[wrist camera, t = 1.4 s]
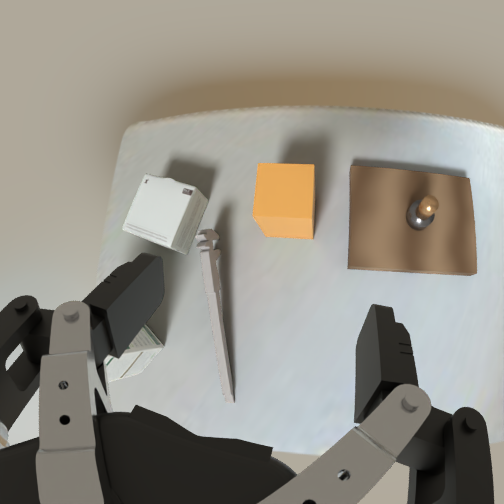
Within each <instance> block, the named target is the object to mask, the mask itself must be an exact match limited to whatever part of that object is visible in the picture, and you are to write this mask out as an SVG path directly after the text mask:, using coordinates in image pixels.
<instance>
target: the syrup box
mask: <svg viewBox="0 0 504 504" xmlns="http://www.w3.org/2000/svg"><path fill="white" fill-rule="evenodd" d="M163 347H164V345H163V344H162V343H161V342H160V341H159V340H158V338H157V337H156V336H155V335H154V333H153V332H152V331H151V330H150V329H149V328H148V326H147V325H146V324H145V325H144V326H143V327H142V329H141V330H140V331H139V333H138V334H137V335H136V337H135V338H134V339H133V341H132V342H131V343H130V345H129V346H128V347H127V349H126V350H125V351H124V353H123V354H122V356H121V357H120V358H119V359H118V358H115V357H113V356H110V355H108V356H107V357H106V358H105V363H106V371H107V379H108V382H111V381H115V380H119V379H122V378H126V377H130V376H133V375H137V374H140V373H141V372H142V371H143V370H144V369H145V367H146V366H147V365H148V364H149V363H150V362H151V361H152V360H153V358H154V357H155V356H156V355H157V354H158V353H159V352H160V351H161V349H162V348H163Z"/></svg>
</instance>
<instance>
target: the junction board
mask: <svg viewBox="0 0 504 504" xmlns="http://www.w3.org/2000/svg"><path fill="white" fill-rule="evenodd" d="M427 195H432V196H434V197H436V198H437V200H438V202H439V207H438V209H437V210H436V211H435V212H434V213H435V217H434V220H433V222H432V223H431V224H430V225H429V226H427V227H426V228H425V229H424V230H421V231H416V230H414V229H412V228H411V227H410V226H409V225H408V224H407V221H406V212H407V210H408V209H409V208H410V206H411V205H412V204H413V203H414V202H415V201H417V200H423V199H424V198H425V197H426V196H427ZM348 269H359V270H376V271H392V272H410V273H427V274H445V275H464V276H471V275H474V274H477V253H476V234H475V220H474V210H473V201H472V192H471V185H470V178H465V177H458V176H451V175H444V174H436V173H428V172H419V171H410V170H401V169H391V168H379V167H367V166H353V165H351V168H350V214H349V249H348Z"/></svg>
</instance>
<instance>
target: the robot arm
mask: <svg viewBox="0 0 504 504" xmlns="http://www.w3.org/2000/svg"><path fill="white" fill-rule="evenodd" d="M163 296H164V276H163V261H162V258H161V257H160V256H156V255H151V254H147V253H141V254H140V255H139V256H138V257H137V258H136V259H135V260H134V261H132V262H127V263H125V264H123V265H121V266H119V267H117V268H116V269H115V270H114V271H113V272H112V273H111V274H110V276H108V277H107V278H106V279H104V282H101V283H100V284H99V285H98V286H97V287H96V288H95V289H94V290H93V291H92V292H91V293H90V294H89V295H88V296H87V297H86V298H85V299H84V300H83V301H82V302H80V301H69V302H66V303H63V304H61V305H60V306H59V307H57V309H56V310H47V309H40V308H39V305H38V302H37V300H36V298H34V297H32V296H28V295H25V296H20V297H17V298H15V299H14V300H12V301H11V302H10V303H9V304H8V305H7V306H6V307H5V308H4V309H3V310H2V311H1V312H0V504H357V503H358V502H359V501H360V500H361V499H362V498H363V497H364V496H365V495H366V494H367V493H368V492H369V491H370V490H371V489H372V488H373V486H375V485H376V483H377V482H378V481H379V480H380V479H381V478H382V477H383V475H384V474H385V473H386V472H387V471H388V470H389V469H390V468H391V466H392V465H393V464H394V463H395V462H398V463H401V464H403V465H406V466H409V467H410V473H409V489H408V501H407V504H494V490H493V474H492V463H491V454H490V446H489V439H488V433H487V426H486V422H485V420H484V418H483V416H482V415H481V414H480V413H479V412H478V411H476V410H475V409H473V408H470V407H462V408H460V409H458V410H457V411H456V412H455V413H454V414H453V415H452V414H449V413H447V412H444V411H442V410H439V409H437V408H434V407H433V406H431V401H430V399H429V397H428V395H427V394H426V393H425V391H423V390H422V389H421V388H419V386H418V379H417V373H416V367H415V361H414V356H413V350H412V347H411V340H410V335H409V333H408V331H407V330H406V328H405V327H404V325H403V324H402V323H397V322H395V318H394V312H393V308H392V307H386V306H381V305H376V304H372V305H371V307H370V309H369V312H368V315H367V317H366V320H365V322H364V324H363V327H362V329H361V332H360V334H359V337H358V340H357V345H356V383H355V414H354V423H360V425H359V426H358V427H356V426H355V427H354V428H353V429H351V430H350V431H349V432H348V433H347V434H346V435H345V436H344V437H343V438H341V439H340V440H339V441H338V442H337V443H336V444H335V445H334V446H332V447H331V448H330V449H329V450H328V451H327V452H325V453H324V454H323V455H322V456H321V457H320V458H318V459H317V460H316V461H315V462H313V463H312V464H311V465H310V466H308V467H307V468H306V469H305V470H304V471H302V472H301V473H300V474H298V475H297V474H296V473H295V472H294V471H293V470H292V469H291V468H290V467H288V466H287V465H286V464H284V463H283V462H281V461H279V460H278V459H276V458H274V457H271V453H272V449H273V447H269V446H264V445H260V444H256V443H251V442H247V441H243V440H239V439H229V438H214V437H202V436H197V435H195V434H193V433H192V432H190V431H188V430H187V429H185V428H183V427H182V426H180V425H179V424H177V423H176V422H174V421H172V420H171V419H169V418H168V417H166V416H163V415H161V414H158V413H156V412H153V411H150V410H148V409H145V408H143V407H140V406H138V405H135V407H134V409H133V410H132V412H131V413H129V412H113V409H112V405H111V401H110V394H109V387H108V379H107V371H106V363H105V358H106V357H107V356H108V355H110V356H113V357H115V358H118V359H119V358H120V357H121V356H122V354H123V353H124V351H125V350H126V349H127V347H128V346H129V345H130V343H131V342H132V341H133V339H134V338H135V337H136V335H137V334H138V333H139V331H140V330H141V329H142V327H143V326H144V325H145V323H146V322H147V321H148V319H149V318H150V317H151V315H152V314H153V313H154V312H155V310H156V309H157V308H158V306H159V305H160V304H161V302H162V299H163ZM19 344H21V346H22V348H23V352H22V354H21V355H20V356H19V357H18V358H17V359H16V361H15V362H14V363H13V364H12V365H11V367H10V368H9V369H8V370H7V371H6V368H5V363H6V360H7V358H8V357H9V355H10V354H11V353H12V352H13V351H14V350H15V348H16V347H17V346H18V345H19ZM39 387H40V390H39V437H37V438H34V439H31V440H28V441H25V442H22V443H18V444H15V445H12V446H10V445H9V443H8V441H7V440H8V431H9V430H10V428H11V427H12V425H13V423H14V422H15V421H16V419H17V418H18V416H19V415H20V413H21V412H22V410H23V409H24V408H25V406H26V405H27V403H28V402H29V400H30V399H31V398H32V396H33V395H34V393H35V392H36V390H37V389H38V388H39Z"/></svg>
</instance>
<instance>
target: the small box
mask: <svg viewBox="0 0 504 504" xmlns="http://www.w3.org/2000/svg"><path fill="white" fill-rule="evenodd" d="M207 203H208V199H207V198H206V197H205V196H204V195H203V194H202V193H201V192H200V191H199V190H198V189H197V188H196V187H195V186H192V185H189V184H185V183H181V182H178V181H175V180H173V179H172V178H162V177H159V176H155V175H151V174H147V173H146V174H145V176H144V178H143V180H142V182H141V184H140V187H139V189H138V191H137V194H136V196H135V198H134V201H133V203H132V205H131V208H130V210H129V213H128V215H127V218H126V220H125V222H124V225H123V227H122V229H123V230H125V231H127V232H129V233H131V234H133V235H136V236H138V237H141V238H143V239H146V240H148V241H151V242H153V243H156V244H159V245H161V246H164V247H167V248H169V249H172V250H175V251H177V252H180V253H183V254H185V255H187V254H188V251H189V249H190V246H191V243H192V241H193V238H194V236H195V233H196V231H197V228H198V226H199V223H200V221H201V218H202V216H203V213H204V211H205V208H206V206H207Z"/></svg>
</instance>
